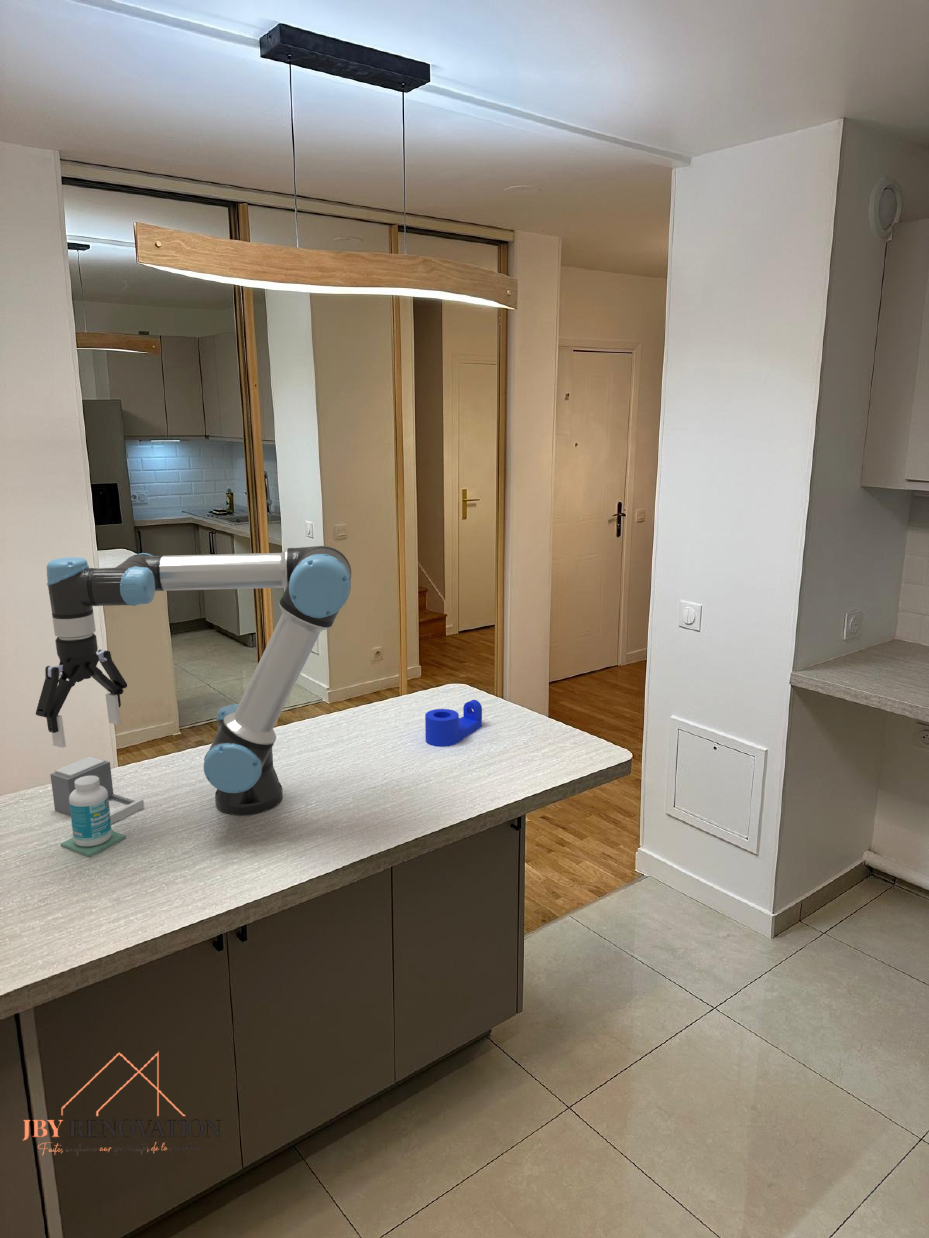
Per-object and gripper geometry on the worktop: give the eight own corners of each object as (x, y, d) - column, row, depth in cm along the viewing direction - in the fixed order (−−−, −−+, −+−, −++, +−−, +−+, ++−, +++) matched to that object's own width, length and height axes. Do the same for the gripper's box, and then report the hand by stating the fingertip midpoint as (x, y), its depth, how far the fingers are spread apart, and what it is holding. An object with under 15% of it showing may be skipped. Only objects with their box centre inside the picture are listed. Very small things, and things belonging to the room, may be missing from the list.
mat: (126, 837, 181) (125, 835, 181) (89, 857, 173) (89, 854, 173) (97, 827, 185) (97, 825, 185) (60, 846, 177) (60, 843, 177)
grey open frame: (144, 807, 194) (140, 768, 192) (103, 828, 185) (98, 787, 182) (96, 792, 202) (92, 754, 199) (55, 810, 192) (49, 771, 190)
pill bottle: (98, 850, 175) (91, 789, 171) (66, 846, 176) (58, 786, 173) (119, 832, 182) (113, 774, 178) (88, 829, 183) (81, 770, 180)
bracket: (444, 750, 227) (444, 723, 225) (418, 742, 232) (418, 715, 230) (488, 728, 242) (488, 703, 240) (463, 721, 247) (462, 696, 245)
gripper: (112, 619, 183) (123, 712, 189) (6, 648, 162) (21, 752, 167) (137, 623, 180) (148, 717, 185) (32, 653, 159) (47, 759, 164)
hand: (88, 734), depth 176 cm, fingers open, 13 cm apart
